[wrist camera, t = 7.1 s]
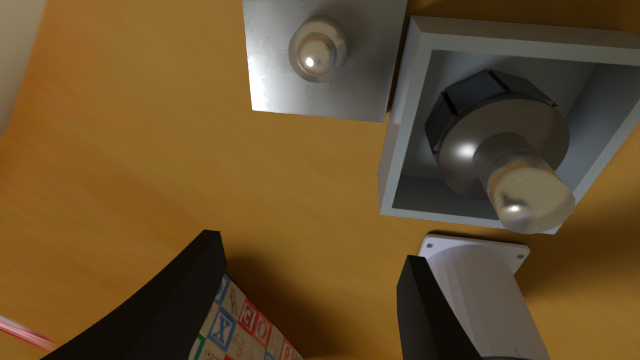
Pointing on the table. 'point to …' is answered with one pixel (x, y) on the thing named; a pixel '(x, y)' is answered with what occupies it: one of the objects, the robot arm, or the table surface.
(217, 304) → the stack of blocks
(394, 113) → the bin
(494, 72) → the dark grey stepped cylinder
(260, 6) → the stud mount
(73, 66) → the table surface
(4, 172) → the table surface
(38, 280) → the table surface
